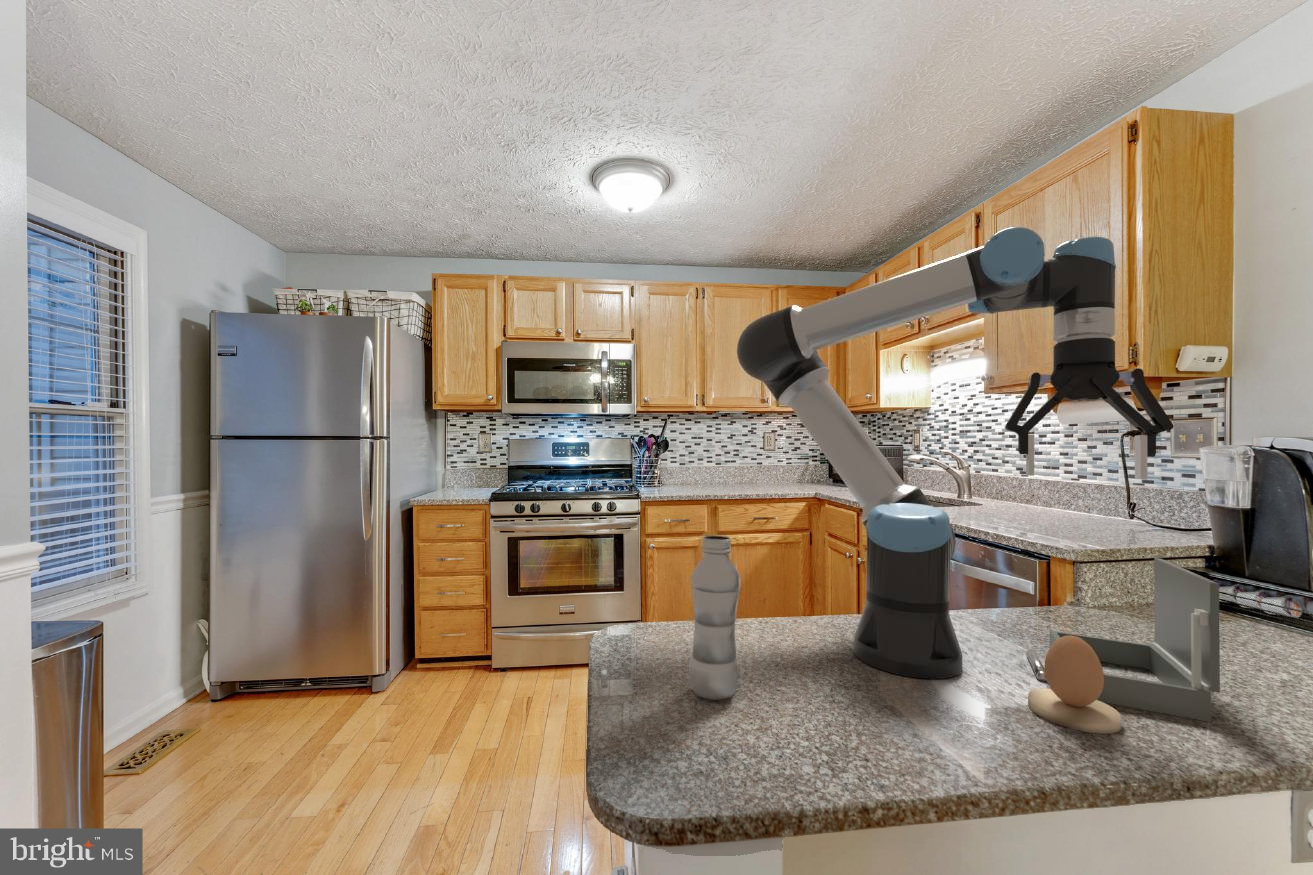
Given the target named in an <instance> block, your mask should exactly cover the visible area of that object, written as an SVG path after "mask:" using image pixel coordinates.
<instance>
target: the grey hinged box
mask: <svg viewBox="0 0 1313 875" xmlns="http://www.w3.org/2000/svg"><path fill="white" fill-rule="evenodd" d="M1153 561H1154V562H1153V563H1154V564H1153V565H1154V567H1153V568H1154V569H1153V570H1154V571H1153V573H1154V574H1153V575H1154V583H1153V584H1154V588H1153V589H1154V590H1153V591H1154V597H1153V598H1154V599H1153V600H1154V601H1153V602H1154V615H1153V616H1154V641H1152V642H1151V644H1147V643H1140V642H1133V641H1127V640H1121V639H1120V640H1119V639H1113V638H1105V637H1100V636H1099V637H1098V636H1093V635H1092V636H1091V635H1085V634H1084V635H1083V634H1079V633H1072V632H1064V631H1057V630H1052V629H1051V630H1049V648H1050V647H1051V646H1052V644H1053V643H1054V642H1055V641H1056V640H1057V639H1059V638H1061V637H1063V636H1070V635H1072V636H1076V637H1079V638H1081V639H1082V640H1084V641H1085V642H1086V643H1088V644H1089V645H1090V646H1091V647H1092V649H1093V650H1094V652H1095V653H1096V655H1097V656H1098V659H1099V661H1100V663H1107V664H1115V665H1120V666H1125V667H1126V666H1127V667H1132V668H1139V669H1145V670H1150V672H1152V674H1154V675H1155V676H1156V677H1157V678H1158V680H1160V681H1153V680H1147V679H1142V678H1135V677H1130V676H1125V675H1117V674H1113V673H1106V672H1103V673H1104V685H1103V690H1102V692H1101V694H1100V696H1099V697H1098V698H1097V700H1098V701H1101V702H1103V703H1105V704H1109V705H1110V704H1111V705H1117V706H1121V707H1127V708H1133V709H1136V710H1137V709H1139V710H1143V711H1148V712H1154V713H1159V714H1163V713H1165V714H1164V715H1170V716H1174V715H1176V717H1179V716H1180V718H1185V717H1187V719H1190V720H1195V719H1196V721H1201V720H1203V721H1202V722H1207V723H1212V702H1211V699H1212V696H1215V693H1221V684H1220V683H1221V680H1220V679H1221V677H1220V672H1221V671H1220V669H1221V667H1220V666H1221V665H1220V664H1221V662H1220V660H1221V658H1220V656H1221V655H1220V654H1221V653H1220V647H1221V646H1220V583H1218V582H1216V581H1213V580H1211V579H1209V578H1207V577H1204V576H1202V575H1199V574H1198V573H1195V572H1192V571H1190V570H1189V569H1186V568H1185V567H1184V568H1183V567H1181V566H1179V565H1177V564H1175V563H1172V562H1170V561H1167V560H1165V559H1163V558H1159V557H1158V558H1156V557H1154V560H1153ZM1177 715H1178V716H1177Z"/></svg>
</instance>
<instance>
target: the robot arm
mask: <svg viewBox="0 0 1313 875" xmlns="http://www.w3.org/2000/svg"><path fill="white" fill-rule="evenodd" d="M1114 248H1115V247H1114V243H1113V241H1111V239H1110V238H1107V237H1102V236H1088V237H1087V236H1086V237H1085V236H1084V237H1079V238H1077V239H1074V240H1069V241H1066V242H1063V243H1061V244H1060V245H1058V246H1057V247H1056V248H1055V249H1054V251H1053V255H1052V258H1047V259H1045V256H1046V253H1045V243H1044V241H1043V239H1042V237H1041V236H1040V235H1039V234H1038V233H1037V232H1036V231H1034V230H1032V229H1030V228H1027V227H1023V226H1014V227H1007V228H1004V229H1002V230H1000V231H998V232H997V233H995V234H993V235H992V236H991V237H990V238H989V239H988V240H987V241H986V243H984V245H982V246H979V247H977V248H973V249H971V250H968V251H966V252H964V253H961V254H958V255H956V256H952V257H949V258H947V259H944V260H941V261H937V262H935V263H931V264H928V265H925V266H923V267H920V268H918V269H914V270H911V271H908V272H906V273H903V274H899V275H896V276H894V277H890V278H889V279H888V278H887V279H884V280H882V281H879V282H876V283H873V284H870V285H867V286H865V287H862V288H861V287H860V288H858V289H855V290H853V291H850V292H847V293H843V294H841V295H837V296H836V297H833V298H830V299H827V300H824V301H820V302H817V303H816V304H815V303H814V304H812V305H808V306H806V307H799V306H798V305H795V304H794V305H791V306H788V307H785V308H782V309H780V310H777V311H774V312H770V313H768V314H765V315H763V316H761V317H759V318H757V319H755V320H753V321H752V322H751V323H750V324H748V325H747V326H746V327H745V328H744V330H742V332H741V334H740V335H739V338H738V341H737V345H736V346H737V347H736V355H737V360H738V362H739V364H740V367H741V368H742V370H743V371H745V373H746V374H748V375H749V376H750V377H752V378H754V379H756V380H758V381H761V382H762V383H763V384H764V385H765V386H766V388H767V389H768V390H769V392H770V393H771V394H772V396H773V398H774V399H775V400H776V402H777V403H778V404H779V405H780V406H785V407H786V406H787V407H790V408H791V409H792V411H793V412H794V414H795V415H796V417H797V418H798V420H799V421H800V422H801V423H802V425H803V426H804V427H805V430H806V431H807V432H808V433H809V435H810V436H811V438H812V439H813V440H814V442H815V443H816V445H817V446H818V447H819V449H820V450H821V452H822V453H823V454H824V456H825V457H826V459H827V460H828V462H829V464H831V466H832V467H833V469H834V470H835V471H836V473H837V474H838V475H839V477H840V479H841V480H842V481H843V483H844V484H845V485H846V487H847V488H848V490H849V491H850V493H851V494H852V495H853V497H854V499H855V500H856V501H857V503H858V504H859V505H860V507H861V509H862V515H861V523H862V525H864V527H865V531H866V588H865V589H866V590H865V591H866V592H865V593H866V594H865V595H866V598H865V606H864V608H863V611H862V613H861V617H860V619H859V622H858V624H857V628H856V630H855V632H854V633H855V634H854V636H853V653H854V655H855V656H856V657H857V659H859V660H860V661H861V662H863V663H865V664H867V665H869V666H871V667H874V668H876V669H878V670H882V671H885V672H888V673H892V674H894V675H895V674H896V675H900V676H905V677H911V678H918V679H930V680H931V679H947V678H948V679H949V678H953V677H956V676H958V675H960V674H961V673H962V671H963V651H962V650H961V646H960V644H959V640H958V638H957V637H958V636H957V634H956V632H955V628H954V625H953V622H952V619H951V615H950V584H951V583H950V582H951V581H950V579H951V578H950V576H951V575H950V572H951V568H950V566H951V560H952V558H953V556H954V554H955V550H956V535H955V532H954V528H953V526H952V524H951V521H950V517H949V515H948V513H947V512H946V511H945V510H943V509H942V508H939V507H935V506H934V505H933V504H932V503H931V502H930V500H929V499H928V498H927V496H926V495H925V493H923V491H922V490H921V489H920V487H919V486H915V485H910V484H907V483H905V482H904V481H903V479H902V478H901V476H900V475H899V474H898V473H897V471H896V470H895V469H894V467H893V465H891V464H890V462H889V461H888V459H887V458H886V457H885V455H884V454H883V453H882V452H881V450H880V449H879V448H878V446H877V445H876V443H875V442H874V440H872V439H871V437H870V435H869V434H868V433H867V431H865V429H864V428H863V426H862V424H860V422H859V421H858V419H857V418H856V417H855V416H854V414H853V413H852V412H851V410H850V409H849V408H848V406H847V405H846V404H845V402H844V401H843V400H842V399H841V397H840V396H839V395H838V393H837V392H836V391H835V389H834V388H833V386H832V385H831V384H830V382H829V379H828V378H829V374H830V369H829V368H828V366H827V365H826V364H825V362H824V361H823V360H822V358H821V357H820V355H819V352H818V351H817V350H820V349H824V348H827V347H830V346H833V345H838V344H841V343H843V342H847V341H849V340H854V339H857V338H860V337H862V336H863V337H864V336H866V335H869V334H870V335H871V334H873V333H876V332H879V331H883V330H885V329H889V328H893V327H896V326H899V325H903V324H905V323H909V322H911V321H912V322H913V321H915V320H919V319H922V318H925V317H929V316H932V315H935V314H938V313H942V312H944V311H948V310H951V309H955V308H958V307H962V306H965V305H967V308H968V311H969V312H970V313H971V314H976V315H977V314H990V315H993V314H997V313H1004V312H1011V311H1012V312H1013V311H1023V310H1031V309H1042V308H1048V307H1049V308H1050V307H1053V341H1054V342H1056V343H1055V344H1054V345H1053V357H1052V358H1053V362H1052V363H1053V366H1052V367H1053V369H1052V373H1051V374H1046V373H1045V374H1044V373H1042V374H1041V373H1039V372H1038V371H1037V372H1033V373H1032V374H1031V375H1030V376H1029V377H1028V385H1027V389H1026V390H1025V393H1024V394H1023V396H1022V397H1021V398H1020V401H1019V402H1018V404H1017V406H1016V407H1015V409H1014V411H1013V412H1012V414H1011V415H1010V417H1009V419H1008V421H1007V422H1006V424H1005V425H1004V429H1005V430H1006V431H1008V432H1011V433H1015V434H1016V435H1017V437H1018V438H1017V440H1018V441H1017V442H1018V445H1017V449H1018V450H1017V452H1018V453H1019V455H1026V456H1025V474H1026V475H1025V476H1029V477H1030V476H1032V477H1033V476H1035V434H1029V432H1030V431H1031V430H1032V429H1034V428H1035V427H1036V426H1037V424H1039V423H1040V421H1042V420H1043V419H1044V418H1045V417H1046V416H1047V415H1048V414H1049V413H1050V412H1051V411H1052V410H1053V409H1054V408H1055V407H1057V405H1058V404H1060V402H1062V401H1063V400H1064V399H1065V400H1068V401H1069V402H1077V401H1082V400H1083V401H1087V402H1088V401H1089V402H1090V401H1091V402H1094V401H1095V402H1096V401H1097V400H1099V399H1101V400H1103V402H1105V403H1107V404H1108V405H1109V406H1110V407H1112V408H1113V409H1114V410H1115V411H1116V412H1117V413H1118V414H1119V415H1120V416H1121V417H1123V418H1124V419H1125V420H1126V421H1127V422H1128V423H1130V425H1131V426H1133V427H1134V428H1135V429H1136V430H1137V431H1138V432H1139V433H1140V434H1138V435H1134V479H1135V480H1144V481H1145V480H1148V458H1149V457H1150V458H1153V457H1154V458H1155V456H1156V454H1157V436H1158V434H1160V433H1164V432H1167V431H1171V430H1172V429H1173V428H1174V426H1175V425H1174V424H1173V422H1172V421H1171V419H1170V417H1169V416H1168V415H1167V413H1166V411H1165V410H1164V408H1163V407H1162V406H1161V404H1160V403H1159V401H1158V399H1157V398H1156V397H1155V395H1154V394H1153V393H1152V390H1151V389H1150V388H1149V387H1148V384H1146V380H1145V375H1144V370H1143V369H1142V368H1140V367H1138V368H1134V369H1133V370H1132V369H1131V370H1125V371H1118V370H1117V367H1116V341H1115V340H1114V339H1113V338H1112V337H1114V336H1115V335H1116V318H1115V317H1116V314H1115V312H1116V311H1115V310H1116V309H1115V308H1116V306H1115V305H1116V299H1115V298H1116V268H1117V265H1116V260H1115V249H1114ZM1119 380H1121V381H1122V383H1123V384H1124V385H1125V386H1129V388H1130V389H1131V391H1132V394H1134V397H1136V399H1137V401H1138V403H1140V405H1141V406H1142V408H1143V410H1144V411H1145V413H1146V414H1147V416H1148V417H1149V419H1150V420H1151V422H1152V423H1151V422H1150V421H1149V420H1148V419H1147V418H1145V416H1143V415H1142V414H1141V413H1140V412H1139V411H1137V410H1136V408H1134V407H1133V406H1132V405H1130V404H1129V403H1128V401H1126V400H1125V399H1124V398H1123V397H1122V396H1121V395H1120V393H1119V392H1118V391H1116V390H1115V389H1114V388H1113V386H1115V384H1117V382H1118V381H1119ZM1046 383H1050V384H1051V385H1052V386H1053V388H1054V389H1055V390H1056V391H1055V393H1054V394H1053V395H1052V396H1051V397H1049V399H1048V400H1047V401H1046V402H1045V403H1044V404H1043V405H1042V406H1041V407H1040V408H1039V409H1037V410H1036V412H1035V413H1033V415H1031V417H1029V418H1028V419H1027V420H1026V421H1025V422H1024V423H1023V424H1022V425H1019V424H1018V423H1019V422H1020V421H1021V419H1022V417H1023V415H1024V414H1025V413H1026V410H1028V407H1029V406H1030V404H1031V403H1032V400H1033V398H1035V395H1037V392H1038V390H1039V389H1040V388H1043V387H1044V386H1045V385H1046Z"/></svg>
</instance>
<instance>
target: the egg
mask: <svg viewBox="0 0 1313 875" xmlns="http://www.w3.org/2000/svg"><path fill="white" fill-rule="evenodd" d="M1101 663H1102V662H1101V661H1099V659H1098V656H1097V655H1096V653H1095V652H1094V650H1093V649H1092V647H1091V646H1090V645H1089V644H1088V643H1086V642H1085V641H1084V640H1082V639H1081V638H1079V637H1076V636H1072V635H1070V636H1063V637H1061V638H1059V639H1057V640H1056V641H1055V642H1054V643H1053V644H1052V646H1051V647H1050V646H1049V649H1048V651H1047V652H1046V655H1045V659H1044V666H1043V667H1044V669H1045V676H1046V680H1047V681H1046V682H1047V684H1048V686H1049V689H1051V690H1052V691H1053V692H1054V693H1055V694H1056V696H1057V697H1058V698H1059V699H1061V700H1062V701H1063V702H1065V703H1067V704H1069V705H1071V706H1076V707H1082V706H1087V705H1090V704H1091V703H1093V702H1094V701H1096V700H1097V698H1098V697H1099V696H1100V694H1101V692H1102V690H1103V685H1104V673H1105V672H1104V669H1103V666H1102V664H1101Z"/></svg>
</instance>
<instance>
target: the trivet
mask: <svg viewBox="0 0 1313 875" xmlns="http://www.w3.org/2000/svg"><path fill="white" fill-rule="evenodd" d="M1027 706H1028V708H1029V709H1030V710H1031V712H1033V713H1034V714H1036V715H1037V716H1038V717H1041V718H1042V719H1045V720H1046V721H1048V722H1051V723H1052V724H1053V723H1054V724H1055V725H1056V724H1057V725H1059V726H1061V727H1065V728H1068V729H1072V730H1076V731H1080V732H1083V733H1085V732H1086V733H1091V734H1099V735H1100V734H1101V735H1108V734H1109V735H1112V734H1116V733H1119V732H1120V731H1121V730H1122V715H1121V713H1120V712H1119V711H1118V710H1117V709H1115V708H1114V707H1112V706H1110V704H1108V703H1105V702H1101V701H1098V700H1096V701H1094V702H1093V703H1091V704H1090V705H1087V706H1082V707H1076V706H1071V705H1069V704H1067V703H1065V702H1063V701H1062V700H1061V699H1059V698H1058V697H1057V696H1056V694H1055V693H1054V692H1053V691H1052V690H1051V688H1035V689H1032V690H1030V691H1028V693H1027Z"/></svg>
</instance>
